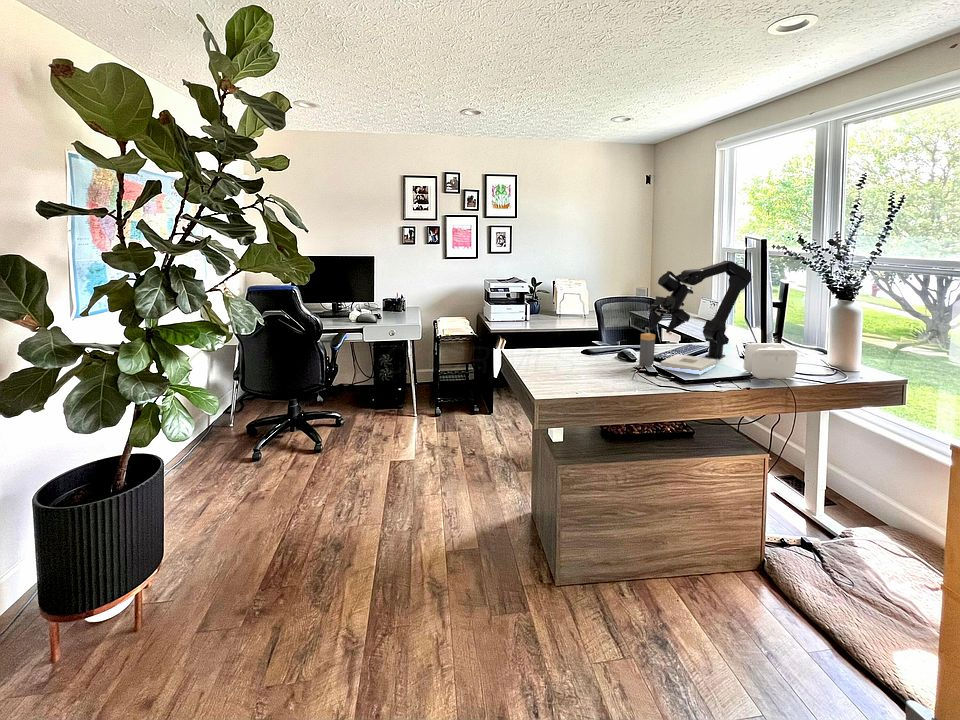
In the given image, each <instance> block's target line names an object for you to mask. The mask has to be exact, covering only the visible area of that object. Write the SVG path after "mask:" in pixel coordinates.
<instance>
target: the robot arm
mask: <svg viewBox="0 0 960 720" xmlns="http://www.w3.org/2000/svg"><path fill="white" fill-rule="evenodd" d="M749 270H750V269H746V268H744V267H743V266H741V265H739V264H737V263H736V262H734V261H732V260H723V261H721V262H717V263H713V264H712V265H708V266H705V267H701V268H695V269H693V268H692V269H691V268H690V269H685V270H682V271H681V273H680V274H677V275H676V274H675V273H673V272H672V270H671V271H670V270H667V271H666V273H664V274H662V276H659V278H658V281H657V284H658V285H659V286H660V287H662V288H663V289H664V290H666V291H667V292H669V293H670V292H671V294H670V295H667V296H666V297H664V296H655V299H654V302H653V303H654V304H650V305H649V307H648V308H647V310H648V311H649V313H650V314H651V321H650V327H649V329H650V330H653V329H655V328H656V327H657V325H658V324H659V323H660V322H661V321H662V319H663V317H664V316H665V315H667V316H671V320H670V322H669V323H668V326H667V328H666V330H665V332H666V334H670V332H672V331H673V330H675V329H676V328H678V327H679V326H682V325H683V324H685V323H687V322H689V321H690V319H691V315H690V313H689V312H687V311H686V310H685V309H683V308H681V307H684V306H685V303H684V301H685V299H686V297H687V295H690V294H692V295H693V294H694V290H693V287H692V286H696V285H699V284H700V283H702V282H703V281H704V280H706V279H708V278H711V277H714V276H718V275H719V274H720V275H721V274H723V273H726V275H727V276H729V277H728V288H727V290H726V293H725V294H724V296H723V299H722V300H721V302H720V304H719V306H718V309H717V310H716V312H715V315H714V317H712V319H707V320H706V321H705V323H704V326H703V327H702V334H703V335H702V336H703V337H704V340H705V342H708V351H707V352H708V353H707V354H705V355H704V356H705V358H711V359H720V360H721V359H722V358H724V357H726V354H724V346H725V345H728V344H729V341H730V338H729V337H728V335H726V334H725V333H726V330H727V327H726V326H727V324H726V322H727V320H728V318H729V316H730V314H731V311H732V310H733V308H734V306H735V303H736V301H737V300H738V297H739V296H740V294H741V292H742V291H743V290H744V289H746V288H747V287H748V285H749V284H750V282H751V281H752V279H751V273H750V272H749ZM687 285H689V286H687ZM659 305H660V306H659Z"/></svg>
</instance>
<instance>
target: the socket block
mask: <svg viewBox="0 0 960 720" xmlns="http://www.w3.org/2000/svg"><path fill="white" fill-rule="evenodd" d="M716 363H717V359H715V358H709V357H700V356H693V355H686V354H679V353H676V354H674V355H672V356H669V357H668V358H666V359H664V360H661V361H660V367H661V366H665V367H672V368H680V369H691V370H699V371H702V370H704V369H706V368H708V367H710V366H713V365H715V364H716ZM715 366H716V365H715Z"/></svg>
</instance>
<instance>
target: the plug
mask: <svg viewBox="0 0 960 720" xmlns="http://www.w3.org/2000/svg"><path fill="white" fill-rule="evenodd" d="M655 345H656V334H654V333H649V332H645V333H640V342H639V361H638V365H639V366H642V367H645V366H646V368H648V367H647V366H649V367H652V366H651V365H652V364H653V365H655V363H654V361H655V360H654V359H655V347H656V346H655Z"/></svg>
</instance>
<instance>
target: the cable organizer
mask: <svg viewBox="0 0 960 720" xmlns="http://www.w3.org/2000/svg"><path fill="white" fill-rule="evenodd" d="M797 361H798V351H796V350H795V349H792V348H786V346H785V345H784V344H782V343H776V342H775V343H772V342H771V343H770V342H768V343H765V342H763V343H762V342H761V343H760V342H759V343H757V342H755V343H754V342H752V343H748V344H746V346H745V348H744V359H743V369H744V371H746V372H747V373H749V372H752V373H751V374H752V376H753V377H755V378H756V379H758V380H768V379H776V380H786V379H791V378H793V377H794V376H795V375H796V370H797Z"/></svg>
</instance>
